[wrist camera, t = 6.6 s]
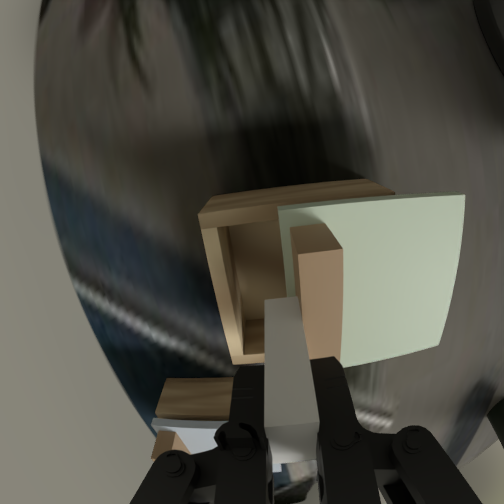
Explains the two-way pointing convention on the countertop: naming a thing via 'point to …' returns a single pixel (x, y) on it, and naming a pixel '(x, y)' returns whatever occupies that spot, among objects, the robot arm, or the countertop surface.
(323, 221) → the lid near
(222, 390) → the box far
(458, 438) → the countertop surface
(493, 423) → the wine bottle
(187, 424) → the lid far
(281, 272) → the box near
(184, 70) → the countertop surface
